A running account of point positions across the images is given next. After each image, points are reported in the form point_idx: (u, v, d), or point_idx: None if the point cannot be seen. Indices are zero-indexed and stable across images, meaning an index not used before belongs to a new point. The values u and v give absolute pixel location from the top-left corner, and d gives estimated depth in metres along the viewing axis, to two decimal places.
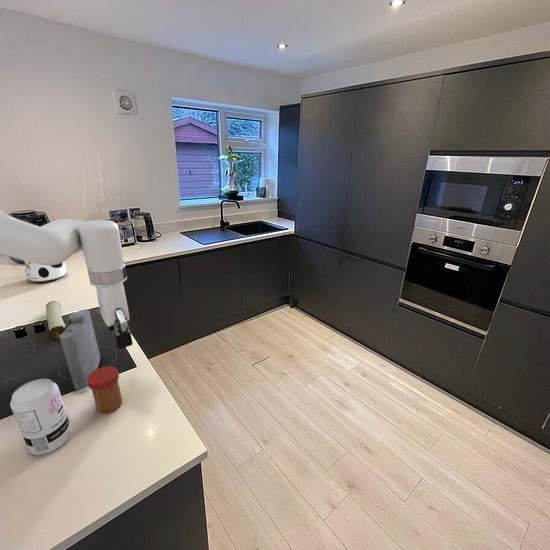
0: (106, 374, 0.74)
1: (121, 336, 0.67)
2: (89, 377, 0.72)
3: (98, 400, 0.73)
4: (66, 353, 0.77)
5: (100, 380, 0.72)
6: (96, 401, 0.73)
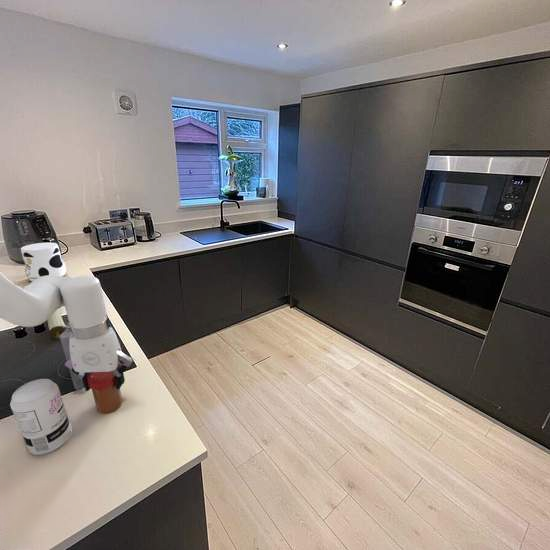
0: (106, 374, 0.74)
1: (121, 375, 0.73)
2: (89, 377, 0.72)
3: (98, 400, 0.73)
4: (66, 353, 0.77)
5: (100, 380, 0.72)
6: (96, 401, 0.73)
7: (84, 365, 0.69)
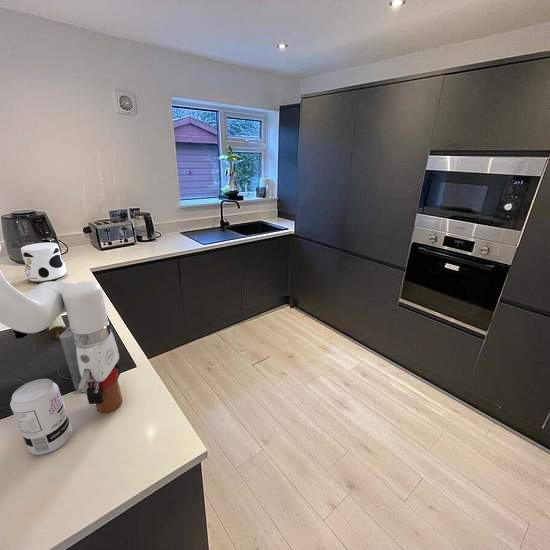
0: None
1: None
2: (100, 382, 0.71)
3: None
4: (66, 353, 0.77)
5: (111, 373, 0.74)
6: None
7: (107, 367, 0.70)
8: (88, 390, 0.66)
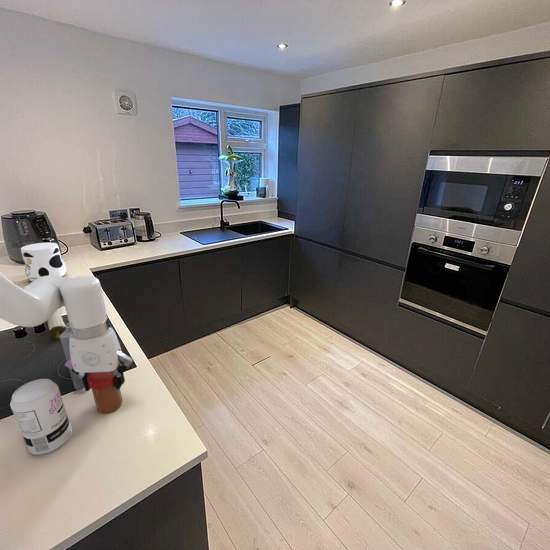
0: (103, 372, 0.74)
1: (121, 375, 0.73)
2: (100, 382, 0.71)
3: (98, 400, 0.73)
4: (66, 353, 0.77)
5: (111, 373, 0.74)
6: (96, 401, 0.73)
7: (84, 365, 0.69)
8: (72, 369, 0.71)
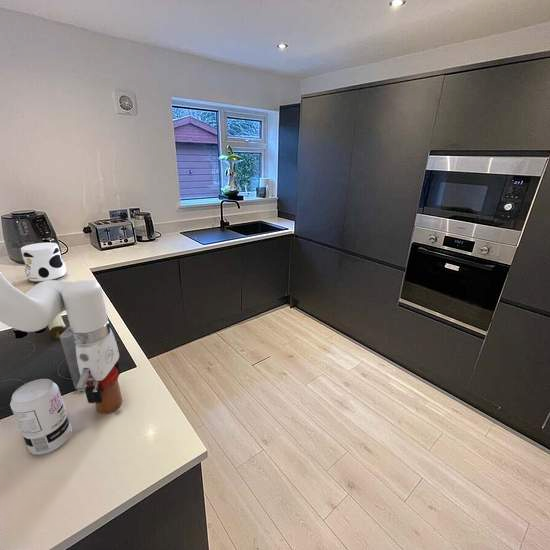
0: None
1: None
2: (115, 371, 0.74)
3: None
4: (66, 353, 0.77)
5: None
6: None
7: (107, 366, 0.70)
8: (87, 389, 0.66)
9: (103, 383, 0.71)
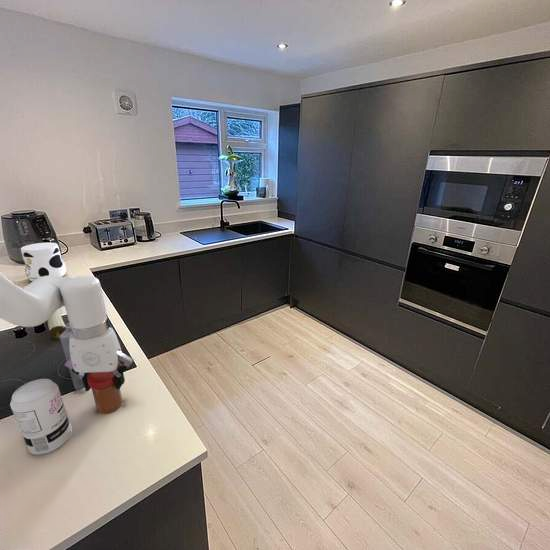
0: (98, 374, 0.73)
1: (121, 375, 0.73)
2: None
3: (98, 400, 0.73)
4: (66, 353, 0.77)
5: None
6: (96, 401, 0.73)
7: (84, 365, 0.69)
8: (72, 369, 0.71)
9: (103, 383, 0.71)
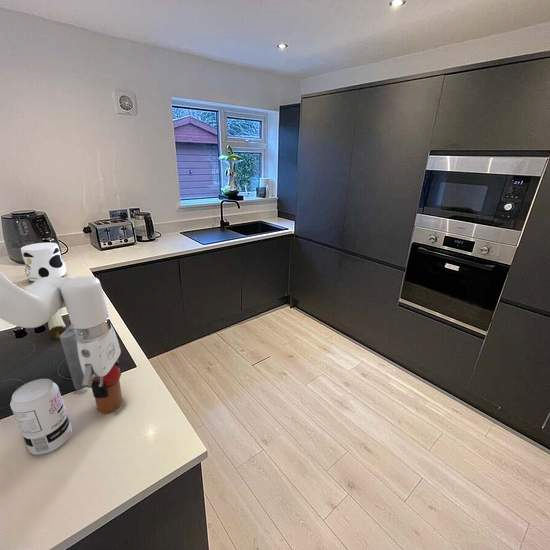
0: None
1: None
2: None
3: (99, 399, 0.73)
4: (66, 353, 0.77)
5: None
6: (97, 400, 0.73)
7: (109, 362, 0.70)
8: (93, 384, 0.67)
9: (119, 370, 0.75)
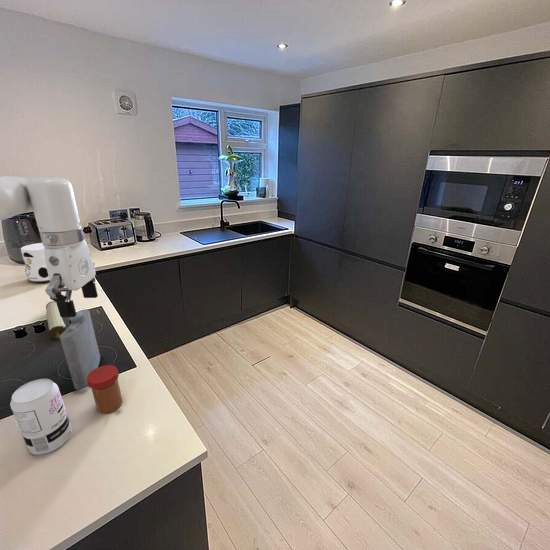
0: (101, 376, 0.72)
1: None
2: (104, 366, 0.76)
3: (98, 400, 0.73)
4: (66, 353, 0.77)
5: (93, 375, 0.73)
6: (96, 401, 0.73)
7: (80, 277, 0.65)
8: (57, 295, 0.60)
9: (117, 370, 0.75)
